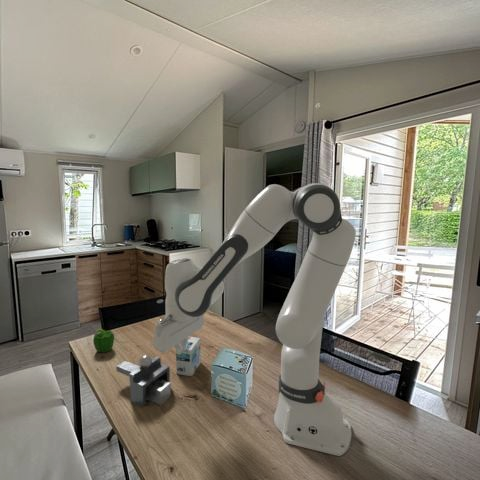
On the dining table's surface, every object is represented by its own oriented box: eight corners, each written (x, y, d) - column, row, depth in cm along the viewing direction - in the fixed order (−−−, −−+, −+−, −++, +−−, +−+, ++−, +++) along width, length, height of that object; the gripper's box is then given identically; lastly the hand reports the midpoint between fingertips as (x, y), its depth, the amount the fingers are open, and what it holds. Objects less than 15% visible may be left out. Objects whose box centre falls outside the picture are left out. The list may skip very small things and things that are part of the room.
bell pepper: (117, 345, 134) (116, 324, 133) (110, 354, 126) (109, 332, 125) (99, 345, 134) (98, 324, 133) (90, 354, 126) (89, 333, 125)
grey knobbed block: (170, 396, 100) (170, 382, 99) (160, 405, 95) (160, 390, 95) (153, 389, 103) (152, 375, 103) (142, 397, 99) (142, 383, 98)
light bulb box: (192, 376, 111) (191, 350, 109) (175, 374, 112) (175, 348, 111) (201, 361, 121) (201, 337, 120) (186, 359, 123) (185, 335, 121)
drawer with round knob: (169, 386, 105) (169, 351, 103) (143, 407, 94) (141, 369, 92) (134, 372, 113) (133, 339, 112) (106, 390, 102) (104, 355, 101)
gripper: (164, 324, 80) (165, 371, 81) (207, 302, 97) (207, 340, 99) (147, 320, 83) (149, 365, 84) (191, 299, 100) (192, 336, 102)
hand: (181, 351), depth 92 cm, fingers closed
